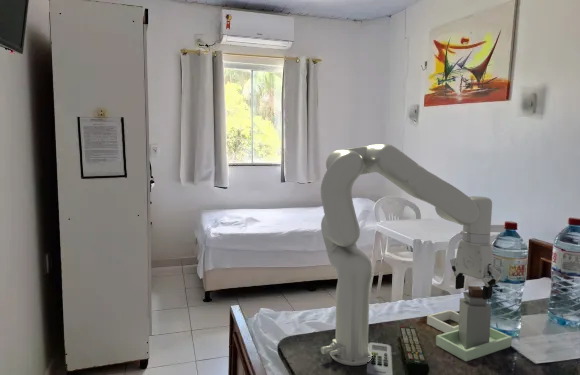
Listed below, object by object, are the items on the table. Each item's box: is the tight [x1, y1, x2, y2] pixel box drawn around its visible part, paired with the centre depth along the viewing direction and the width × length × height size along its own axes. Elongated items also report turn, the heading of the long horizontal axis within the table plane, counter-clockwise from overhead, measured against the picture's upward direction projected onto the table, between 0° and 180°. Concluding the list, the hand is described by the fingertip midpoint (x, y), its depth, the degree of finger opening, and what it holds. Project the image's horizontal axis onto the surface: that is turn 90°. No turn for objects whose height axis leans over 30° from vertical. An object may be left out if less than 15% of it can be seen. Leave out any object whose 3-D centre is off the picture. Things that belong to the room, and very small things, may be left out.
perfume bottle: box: [458, 285, 492, 349], centre depth 125 cm, size 7×7×18 cm
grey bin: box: [426, 309, 459, 334], centre depth 139 cm, size 11×11×3 cm
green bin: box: [435, 327, 513, 362], centre depth 126 cm, size 20×11×3 cm, turn 117°
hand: (472, 293), depth 124 cm, fingers open, 9 cm apart
